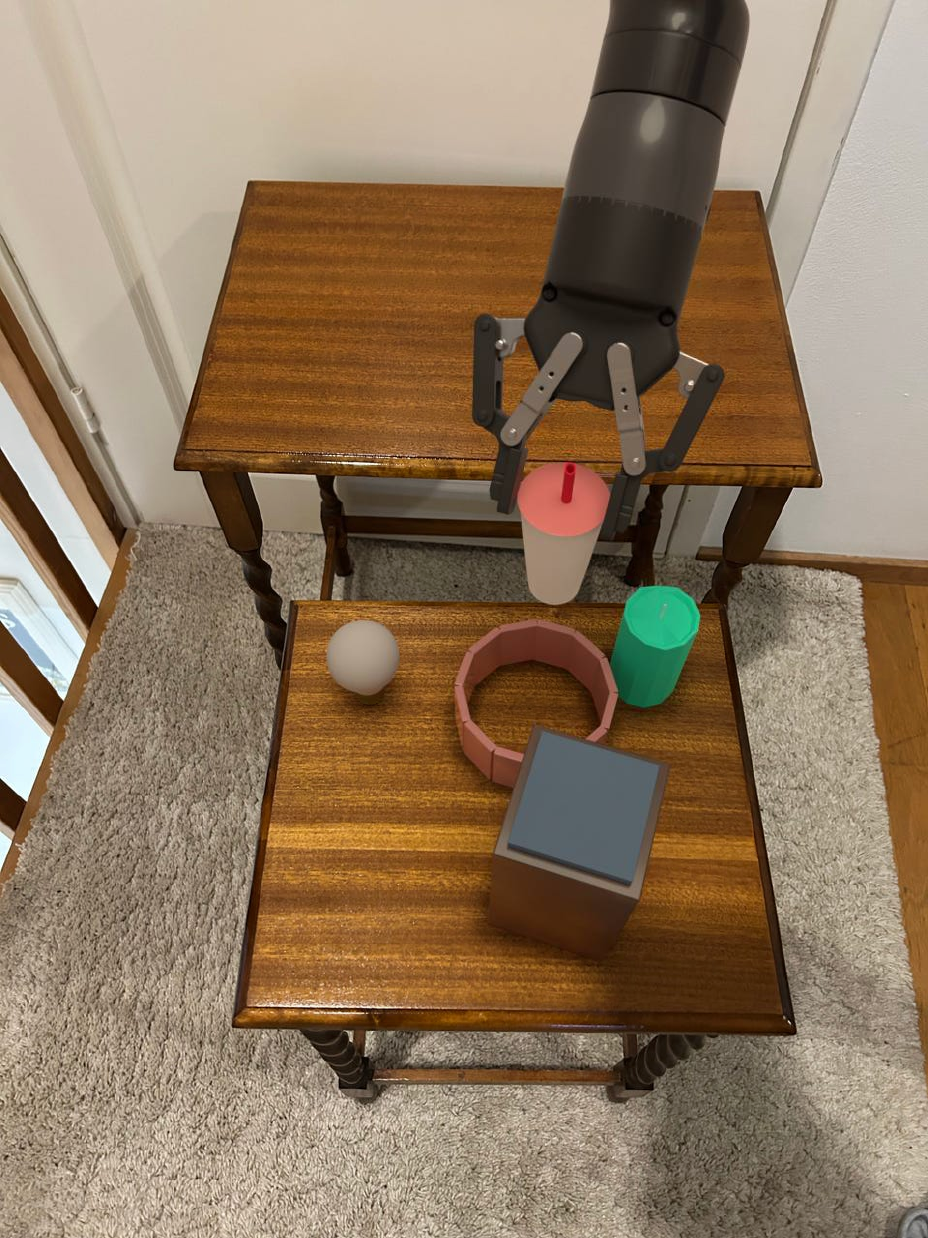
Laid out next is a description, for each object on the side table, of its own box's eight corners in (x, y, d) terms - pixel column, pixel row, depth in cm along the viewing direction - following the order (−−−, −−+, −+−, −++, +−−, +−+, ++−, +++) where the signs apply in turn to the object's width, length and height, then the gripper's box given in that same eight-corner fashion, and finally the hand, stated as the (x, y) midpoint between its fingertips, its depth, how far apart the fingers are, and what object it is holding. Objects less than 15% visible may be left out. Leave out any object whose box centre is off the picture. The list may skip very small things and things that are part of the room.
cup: (583, 627, 60) (604, 511, 49) (503, 605, 60) (507, 488, 50) (603, 560, 62) (627, 437, 52) (525, 541, 63) (534, 416, 53)
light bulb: (391, 734, 80) (381, 680, 71) (326, 715, 81) (309, 659, 72) (414, 675, 82) (407, 617, 74) (352, 657, 83) (338, 597, 75)
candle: (686, 666, 83) (716, 592, 73) (658, 719, 80) (685, 651, 70) (624, 636, 84) (646, 560, 74) (595, 687, 82) (613, 616, 72)
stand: (629, 850, 74) (671, 763, 59) (602, 963, 70) (639, 901, 55) (520, 816, 76) (533, 723, 60) (487, 924, 71) (492, 853, 56)
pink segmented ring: (621, 677, 82) (631, 644, 77) (585, 810, 76) (594, 783, 71) (483, 638, 84) (484, 603, 79) (437, 765, 78) (434, 735, 73)
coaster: (657, 770, 59) (660, 765, 58) (630, 885, 55) (632, 882, 54) (541, 735, 60) (542, 730, 59) (507, 846, 56) (507, 842, 56)
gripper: (486, 167, 46) (418, 501, 51) (778, 222, 44) (680, 568, 48) (513, 200, 53) (451, 490, 58) (766, 248, 51) (681, 547, 55)
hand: (556, 523), depth 53 cm, fingers closed on cup, 5 cm apart
